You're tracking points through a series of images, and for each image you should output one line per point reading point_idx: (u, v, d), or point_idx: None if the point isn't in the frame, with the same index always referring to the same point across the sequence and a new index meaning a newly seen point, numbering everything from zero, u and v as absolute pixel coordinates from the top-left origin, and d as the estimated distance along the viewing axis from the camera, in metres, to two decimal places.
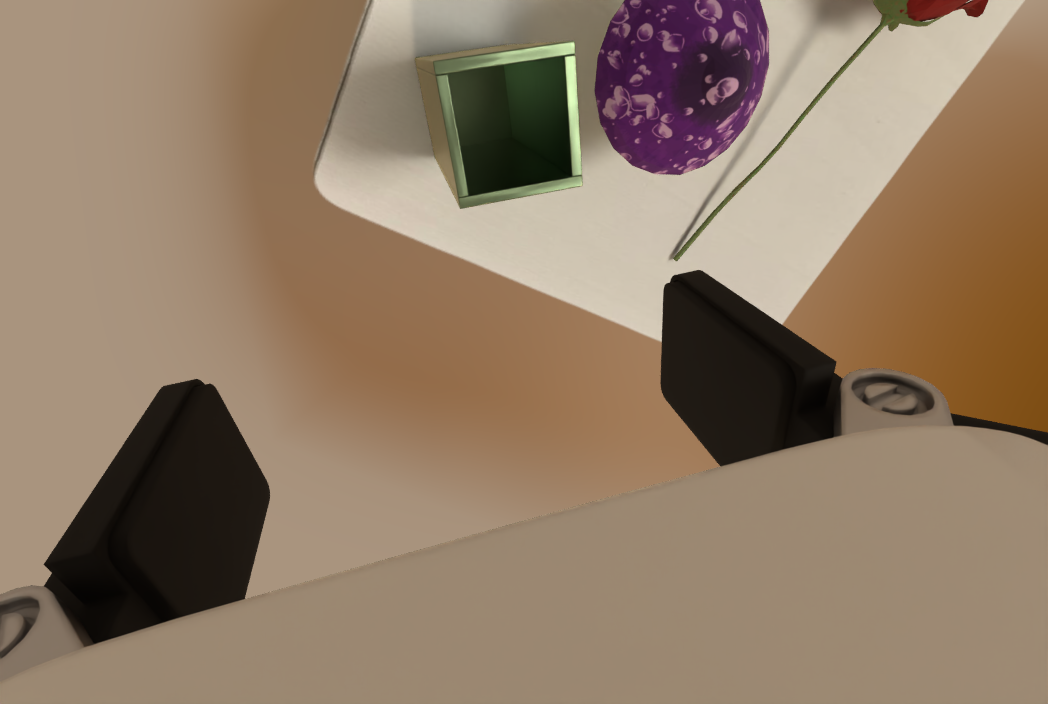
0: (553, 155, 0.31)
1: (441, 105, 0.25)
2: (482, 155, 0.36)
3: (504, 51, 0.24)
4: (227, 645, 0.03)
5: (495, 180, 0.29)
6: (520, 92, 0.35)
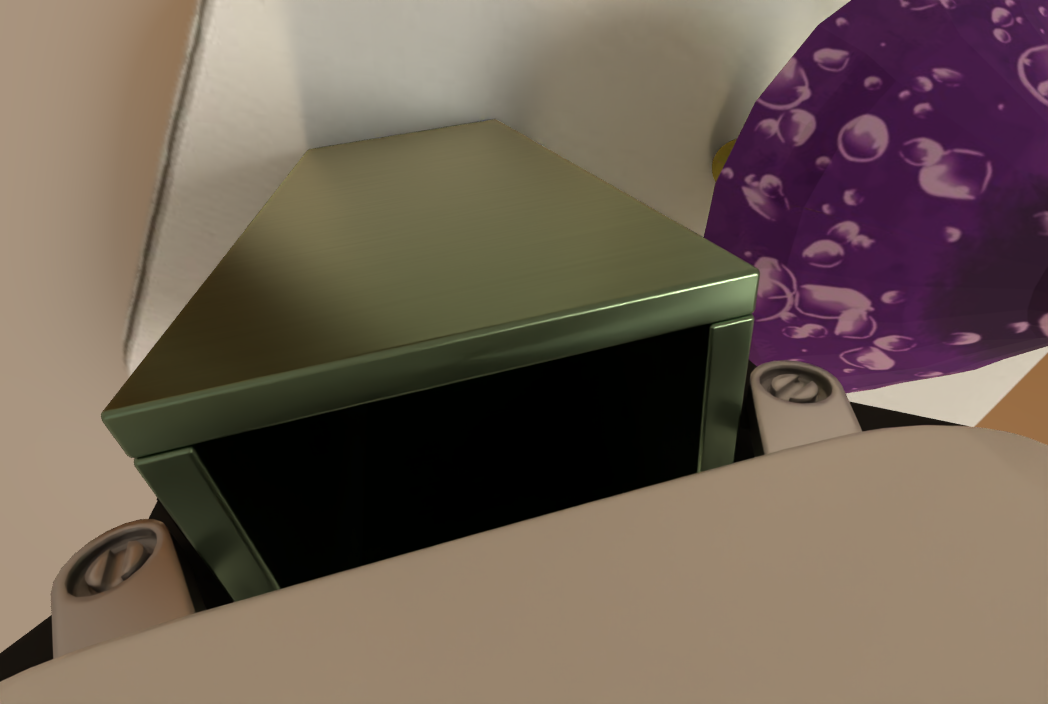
0: (609, 453, 0.12)
1: (193, 540, 0.06)
2: None
3: (457, 338, 0.05)
4: (227, 645, 0.03)
5: None
6: None
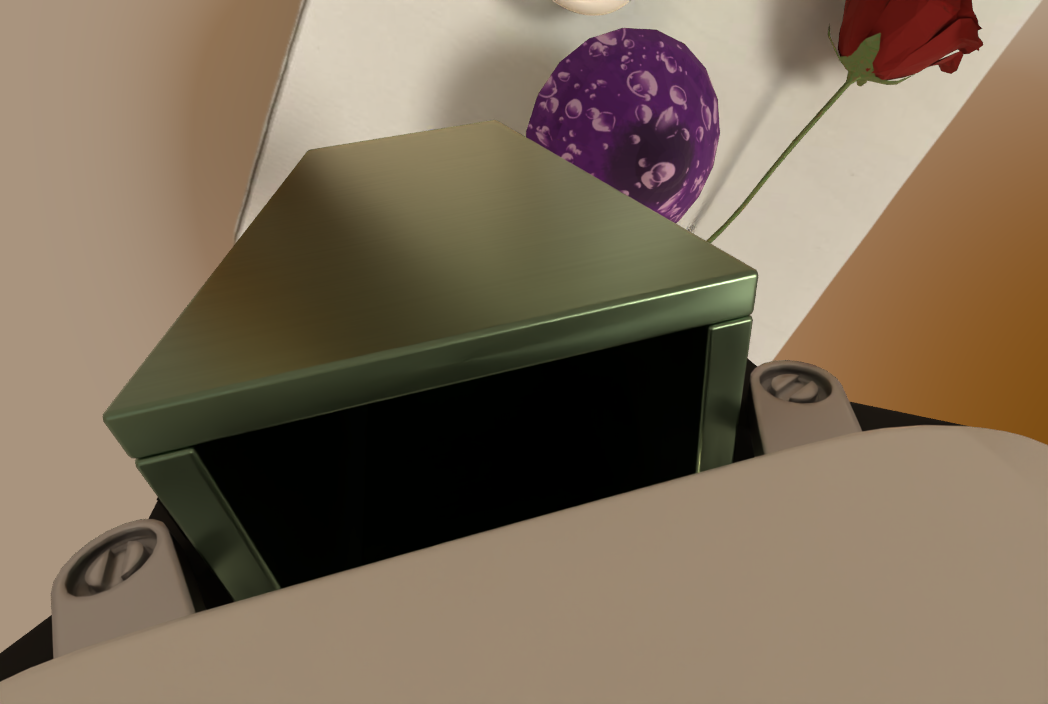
0: (609, 454, 0.12)
1: (194, 540, 0.06)
2: None
3: (456, 339, 0.05)
4: (228, 644, 0.03)
5: None
6: None
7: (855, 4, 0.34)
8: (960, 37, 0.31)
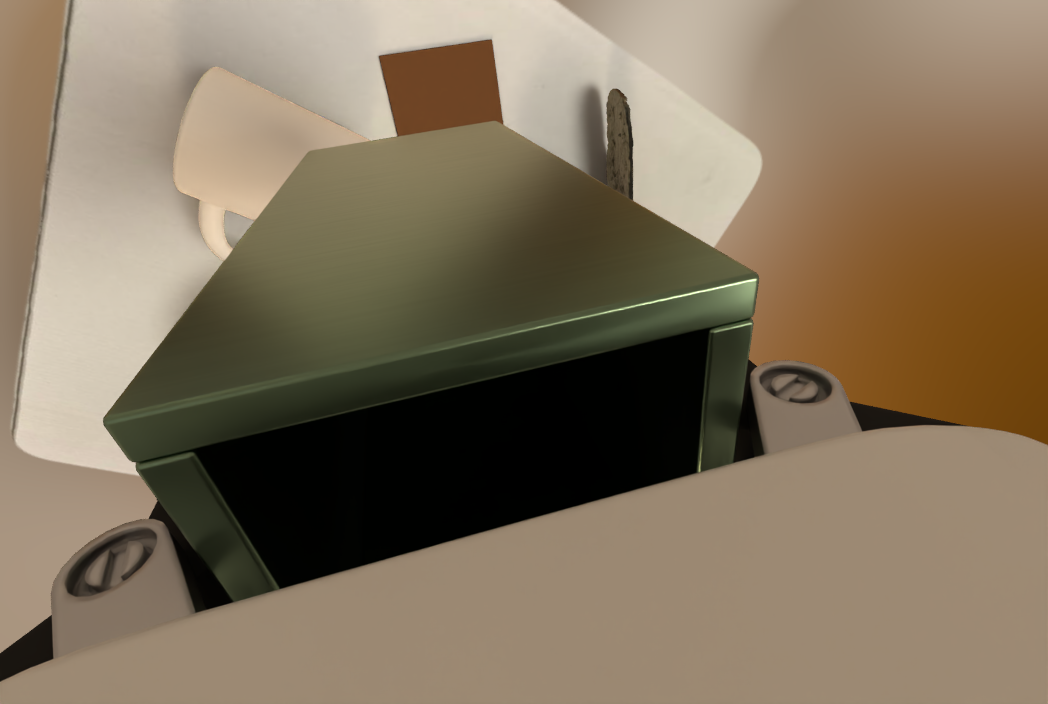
0: (609, 455, 0.12)
1: (195, 543, 0.06)
2: None
3: (457, 343, 0.05)
4: (227, 645, 0.03)
5: None
6: None
7: None
8: None
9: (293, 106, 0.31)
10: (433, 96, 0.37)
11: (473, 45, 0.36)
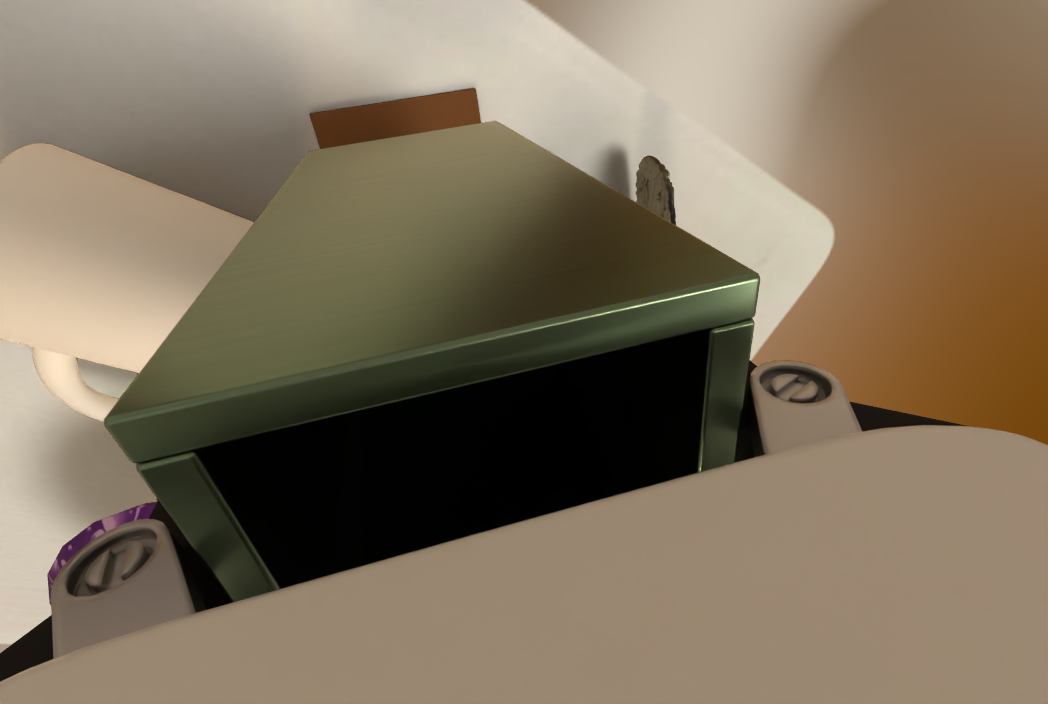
0: (610, 456, 0.12)
1: (196, 544, 0.06)
2: None
3: (458, 343, 0.05)
4: (227, 644, 0.03)
5: None
6: None
7: None
8: None
9: (165, 200, 0.20)
10: None
11: (449, 97, 0.25)
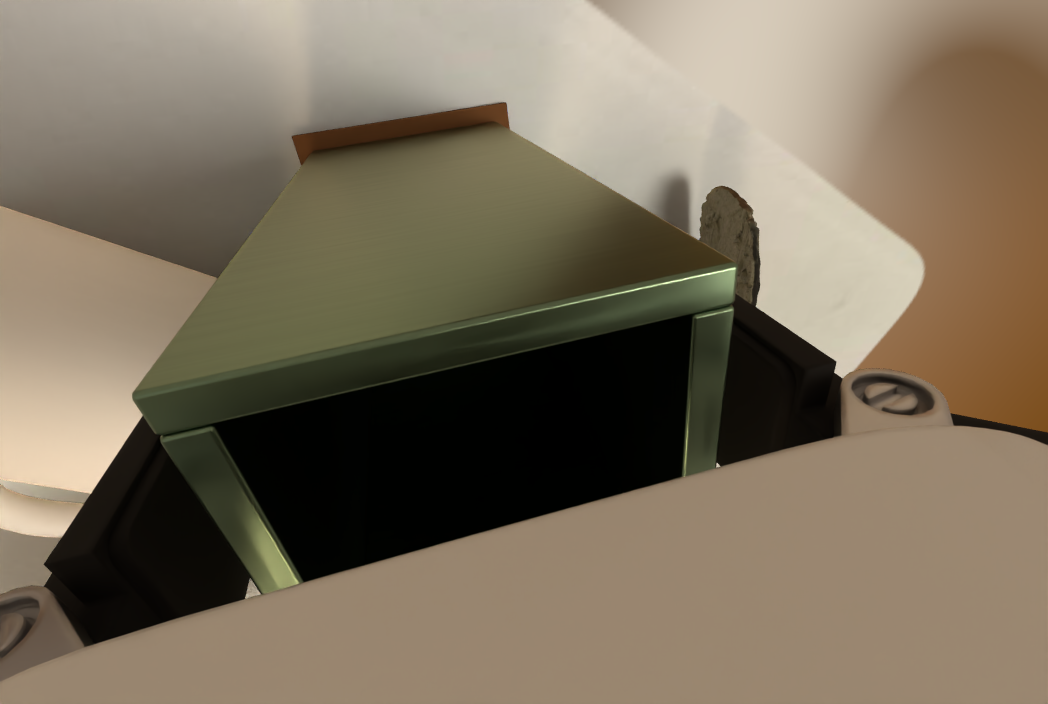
0: (604, 444, 0.12)
1: (212, 514, 0.06)
2: None
3: (457, 326, 0.06)
4: (227, 645, 0.03)
5: None
6: None
7: None
8: None
9: (88, 260, 0.15)
10: None
11: (472, 114, 0.19)
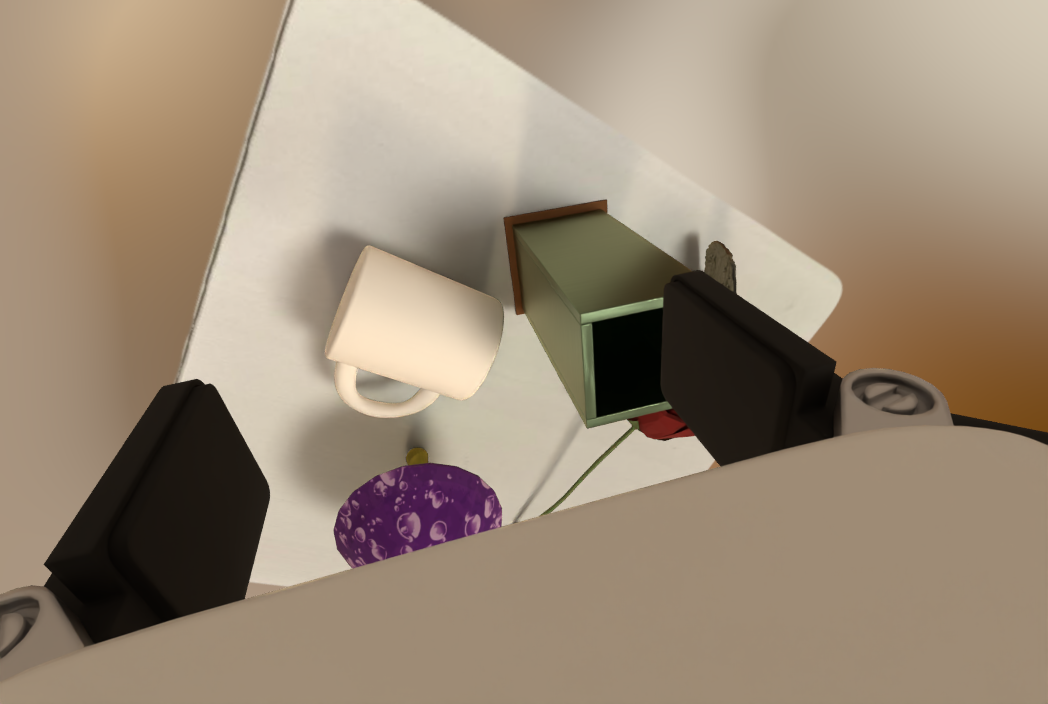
0: None
1: (582, 347, 0.25)
2: None
3: (648, 300, 0.24)
4: (227, 645, 0.03)
5: (614, 386, 0.29)
6: None
7: None
8: None
9: (435, 279, 0.34)
10: None
11: (590, 206, 0.38)
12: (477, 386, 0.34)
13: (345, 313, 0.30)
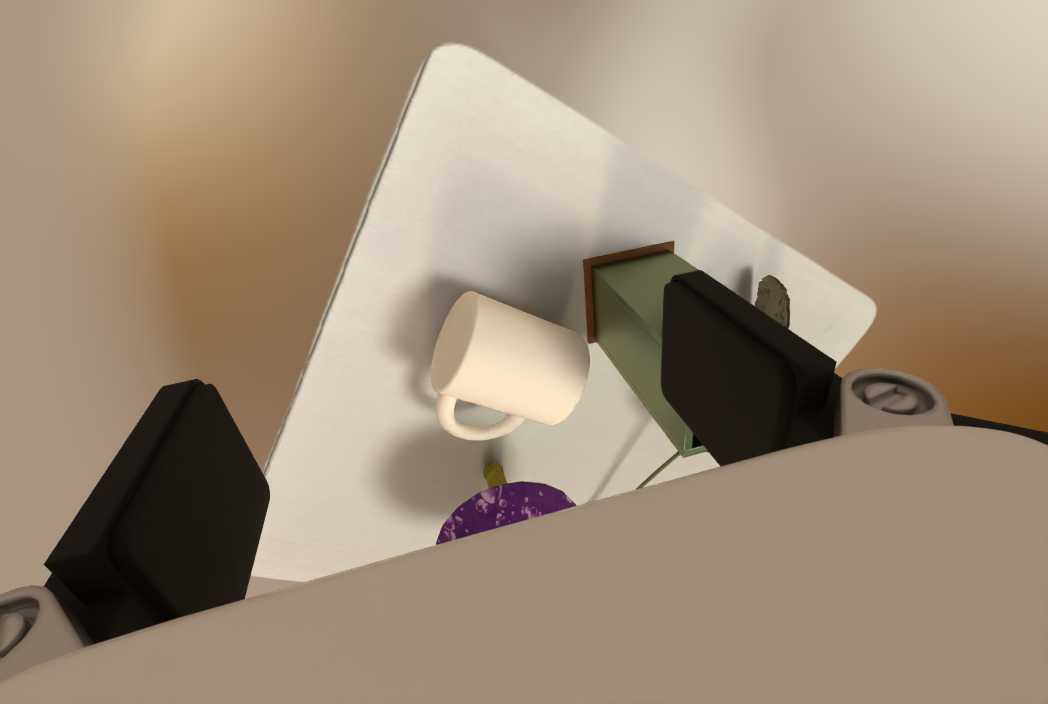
0: None
1: None
2: None
3: None
4: (227, 645, 0.03)
5: None
6: None
7: None
8: None
9: (531, 320, 0.38)
10: None
11: (659, 247, 0.42)
12: (567, 414, 0.39)
13: (463, 357, 0.34)
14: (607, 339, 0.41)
